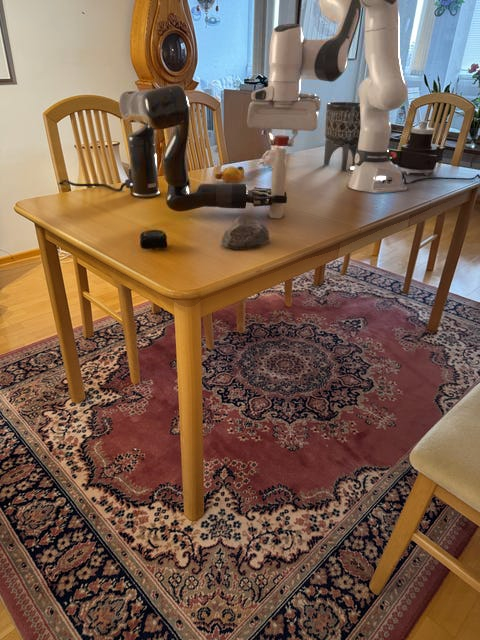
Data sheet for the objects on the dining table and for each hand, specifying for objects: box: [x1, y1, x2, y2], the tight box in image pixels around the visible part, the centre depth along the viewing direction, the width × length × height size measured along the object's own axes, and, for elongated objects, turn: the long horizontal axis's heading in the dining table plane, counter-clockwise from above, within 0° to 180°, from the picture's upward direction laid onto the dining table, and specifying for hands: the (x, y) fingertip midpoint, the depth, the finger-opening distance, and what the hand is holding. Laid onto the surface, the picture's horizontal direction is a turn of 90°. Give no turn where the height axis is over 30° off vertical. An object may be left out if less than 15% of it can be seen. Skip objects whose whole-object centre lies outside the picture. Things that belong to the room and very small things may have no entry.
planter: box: [323, 101, 361, 172], centre depth 204 cm, size 20×20×26 cm
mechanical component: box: [388, 120, 446, 176], centre depth 202 cm, size 22×21×30 cm
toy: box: [214, 165, 246, 184], centre depth 181 cm, size 11×6×15 cm
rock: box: [221, 216, 270, 250], centre depth 119 cm, size 13×9×6 cm, turn 131°
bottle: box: [268, 147, 287, 219], centre depth 138 cm, size 4×4×20 cm
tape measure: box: [139, 229, 168, 250], centre depth 117 cm, size 7×7×4 cm
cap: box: [274, 135, 290, 147], centre depth 132 cm, size 4×4×2 cm
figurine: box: [258, 138, 283, 169], centre depth 203 cm, size 8×15×13 cm, turn 146°
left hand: (286, 197), depth 140 cm, fingers closed on bottle, 4 cm apart
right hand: (281, 145), depth 133 cm, fingers closed on cap, 4 cm apart
